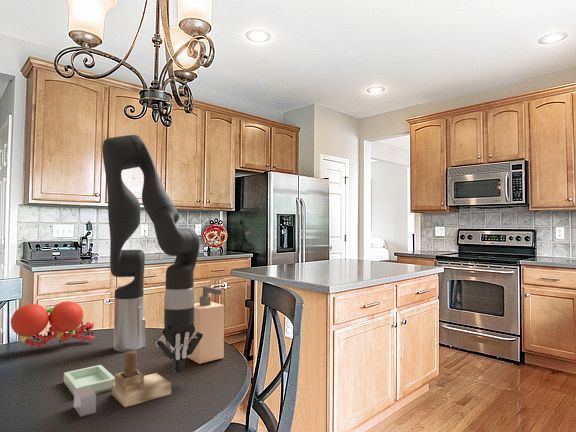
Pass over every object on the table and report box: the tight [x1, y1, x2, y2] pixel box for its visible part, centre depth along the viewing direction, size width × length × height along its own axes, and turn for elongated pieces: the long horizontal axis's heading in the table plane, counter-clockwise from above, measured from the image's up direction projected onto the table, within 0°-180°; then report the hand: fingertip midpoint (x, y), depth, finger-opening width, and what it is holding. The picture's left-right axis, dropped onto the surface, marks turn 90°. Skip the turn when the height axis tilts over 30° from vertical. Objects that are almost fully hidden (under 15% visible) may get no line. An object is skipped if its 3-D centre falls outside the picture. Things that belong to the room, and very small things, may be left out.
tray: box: [63, 364, 115, 396], centre depth 99 cm, size 9×13×2 cm
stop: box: [73, 386, 97, 418], centre depth 86 cm, size 3×6×4 cm, turn 41°
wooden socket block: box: [111, 369, 172, 408], centre depth 94 cm, size 11×9×6 cm
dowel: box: [123, 350, 138, 378], centre depth 92 cm, size 3×3×8 cm
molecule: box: [10, 300, 95, 348], centre depth 131 cm, size 25×11×15 cm, turn 135°
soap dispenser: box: [186, 285, 225, 365], centre depth 120 cm, size 13×9×22 cm
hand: (178, 372), depth 100 cm, fingers closed
